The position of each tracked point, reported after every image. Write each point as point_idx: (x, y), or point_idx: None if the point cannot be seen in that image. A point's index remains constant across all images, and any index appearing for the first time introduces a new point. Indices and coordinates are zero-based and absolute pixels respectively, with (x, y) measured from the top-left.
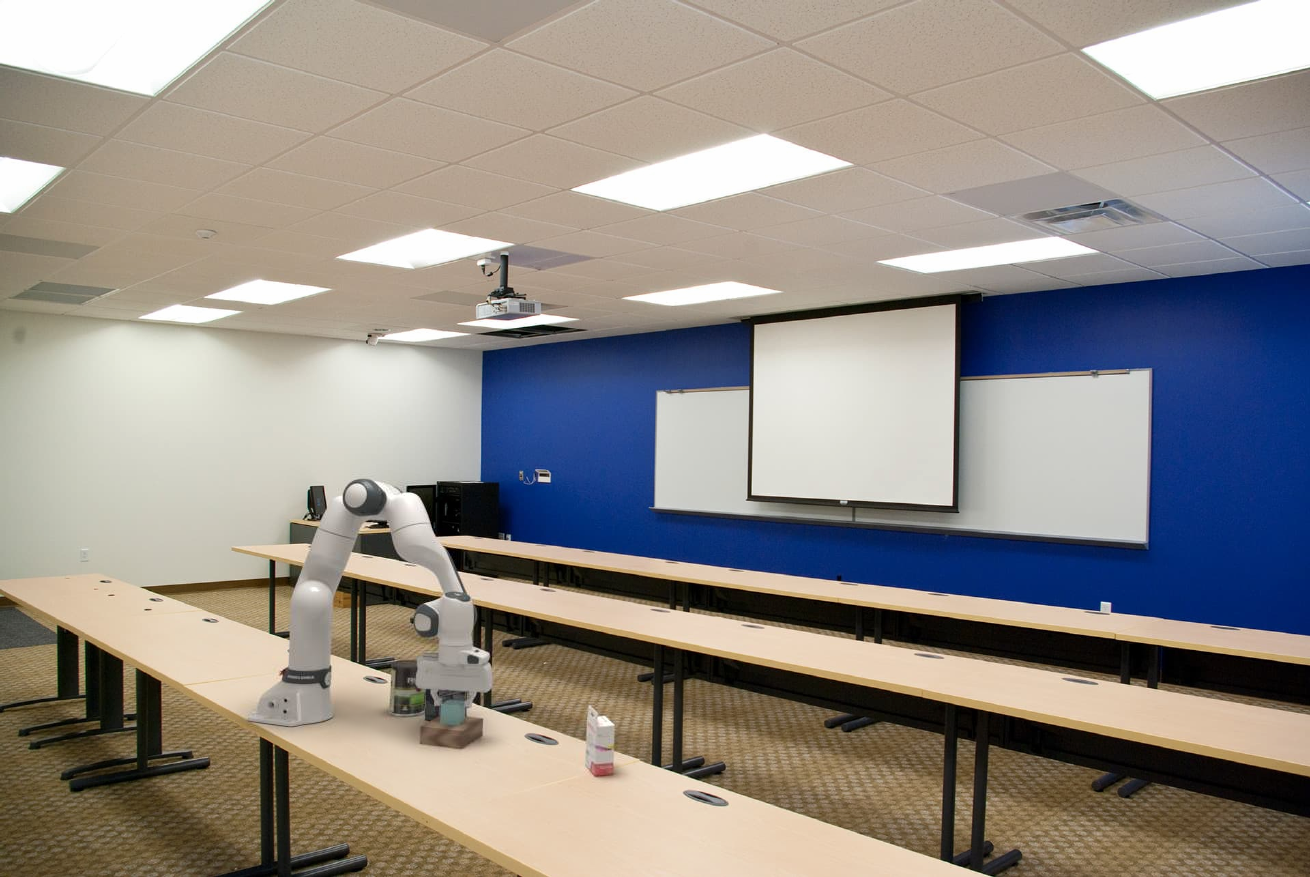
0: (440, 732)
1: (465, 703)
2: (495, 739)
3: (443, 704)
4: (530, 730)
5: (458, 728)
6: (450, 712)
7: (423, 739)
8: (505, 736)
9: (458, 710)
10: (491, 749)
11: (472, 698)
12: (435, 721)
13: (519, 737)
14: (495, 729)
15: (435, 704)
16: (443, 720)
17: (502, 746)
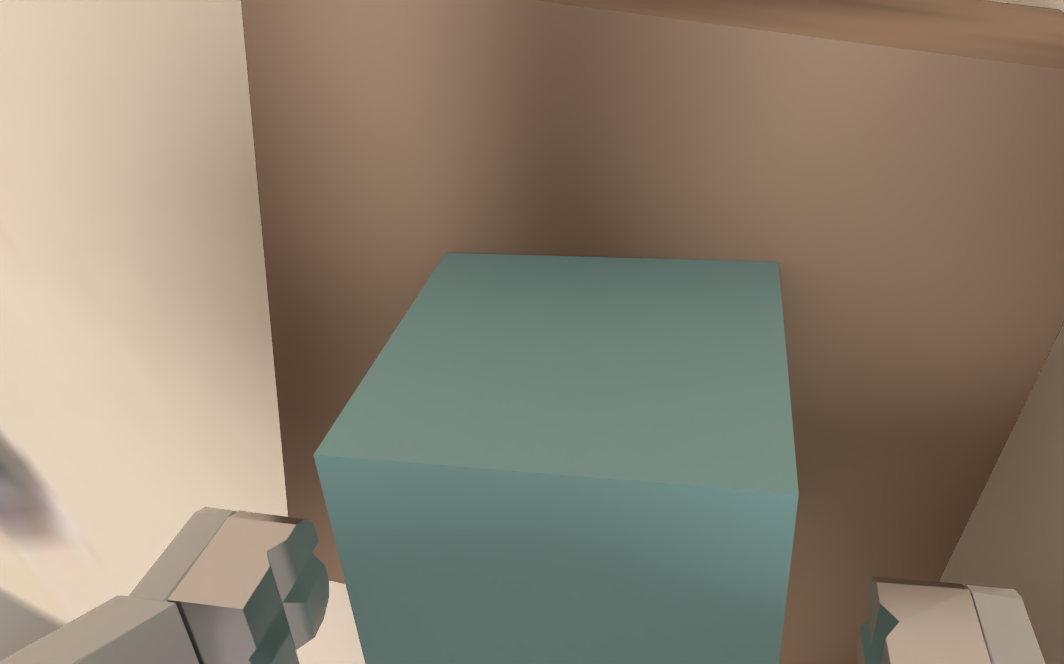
0: (694, 6)
1: (245, 578)
2: (196, 348)
3: (748, 545)
4: (76, 586)
5: (374, 95)
6: (558, 377)
7: (1014, 18)
8: (163, 438)
9: (369, 395)
10: (39, 14)
11: (20, 654)
12: (909, 397)
13: (41, 426)
14: (346, 596)
15: (989, 605)
16: (717, 296)
17: (5, 147)
